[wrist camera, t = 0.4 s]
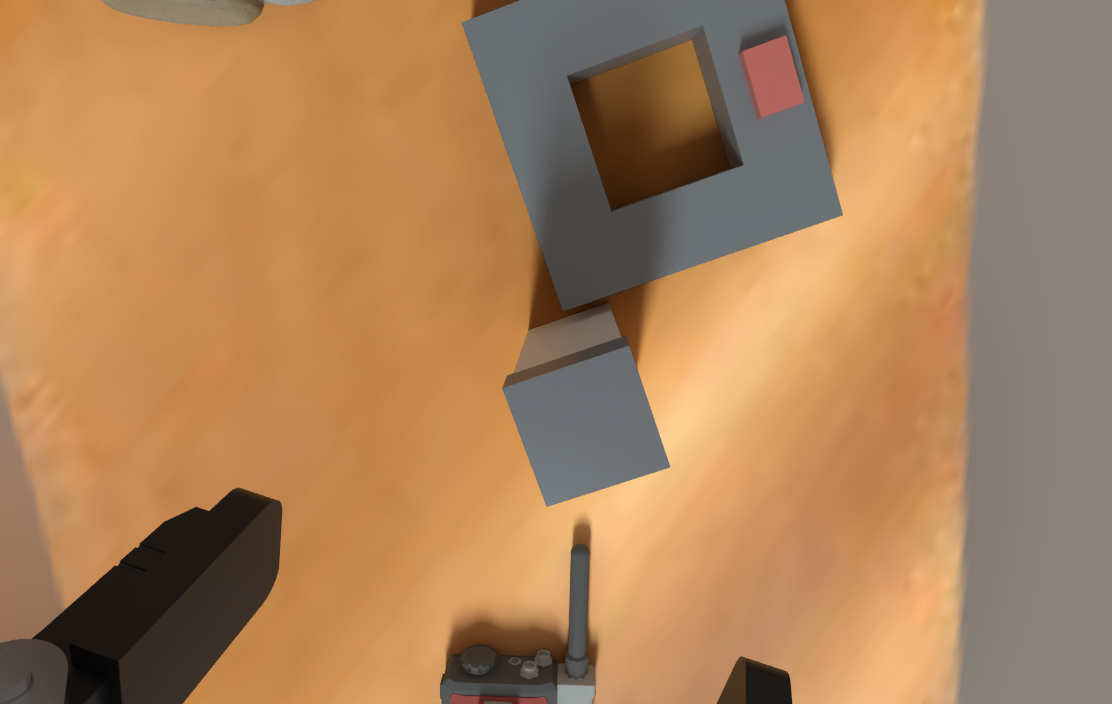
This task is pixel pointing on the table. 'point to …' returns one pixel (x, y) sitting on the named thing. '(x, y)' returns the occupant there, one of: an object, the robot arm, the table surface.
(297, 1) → the ceramic mug
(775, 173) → the socket
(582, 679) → the walkie-talkie
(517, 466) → the table surface
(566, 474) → the plug
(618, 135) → the table surface
